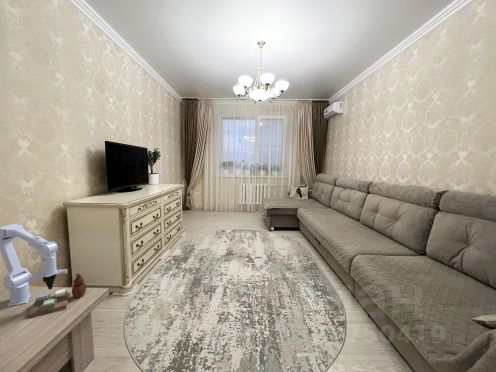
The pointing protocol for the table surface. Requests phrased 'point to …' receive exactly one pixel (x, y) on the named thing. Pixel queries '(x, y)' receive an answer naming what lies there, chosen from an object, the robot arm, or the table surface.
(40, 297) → the grey button
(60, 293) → the white button
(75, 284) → the wooden figurine
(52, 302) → the green button
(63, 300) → the console
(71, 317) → the table surface
